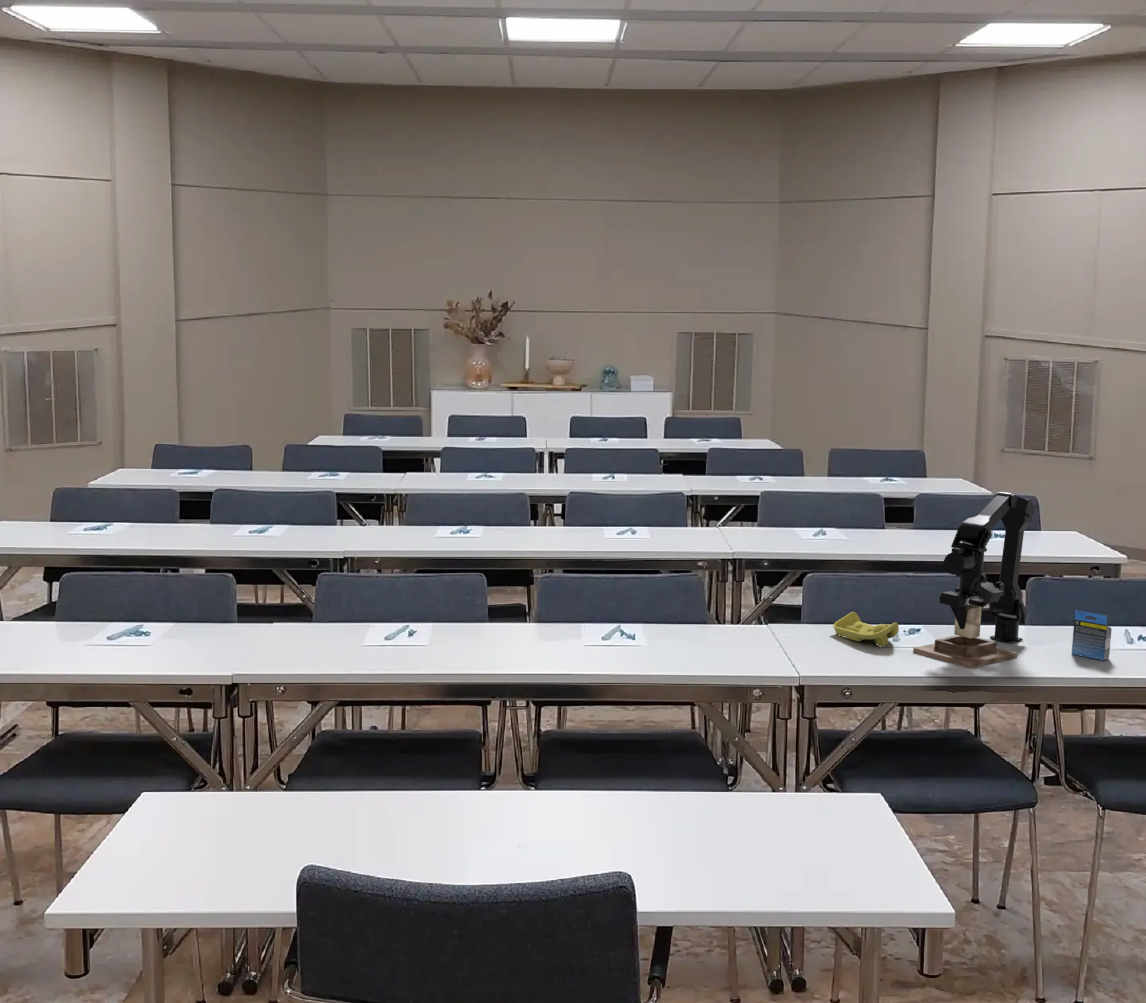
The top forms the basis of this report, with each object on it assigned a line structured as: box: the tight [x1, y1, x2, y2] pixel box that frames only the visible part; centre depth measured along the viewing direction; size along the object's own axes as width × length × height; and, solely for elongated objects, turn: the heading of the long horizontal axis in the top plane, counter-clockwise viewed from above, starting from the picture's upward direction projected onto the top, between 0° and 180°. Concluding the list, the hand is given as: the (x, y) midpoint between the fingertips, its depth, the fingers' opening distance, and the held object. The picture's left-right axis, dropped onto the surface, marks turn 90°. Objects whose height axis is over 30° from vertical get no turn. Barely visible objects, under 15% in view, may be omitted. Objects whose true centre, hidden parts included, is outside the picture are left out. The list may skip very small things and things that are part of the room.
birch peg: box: [953, 604, 983, 638], centre depth 338 cm, size 4×5×8 cm
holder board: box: [912, 635, 1018, 669], centre depth 339 cm, size 20×18×4 cm
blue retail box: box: [1071, 609, 1112, 661], centre depth 340 cm, size 9×4×12 cm, turn 45°
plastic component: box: [832, 611, 900, 647], centre depth 351 cm, size 20×7×10 cm
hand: (967, 627), depth 338 cm, fingers closed on birch peg, 4 cm apart
